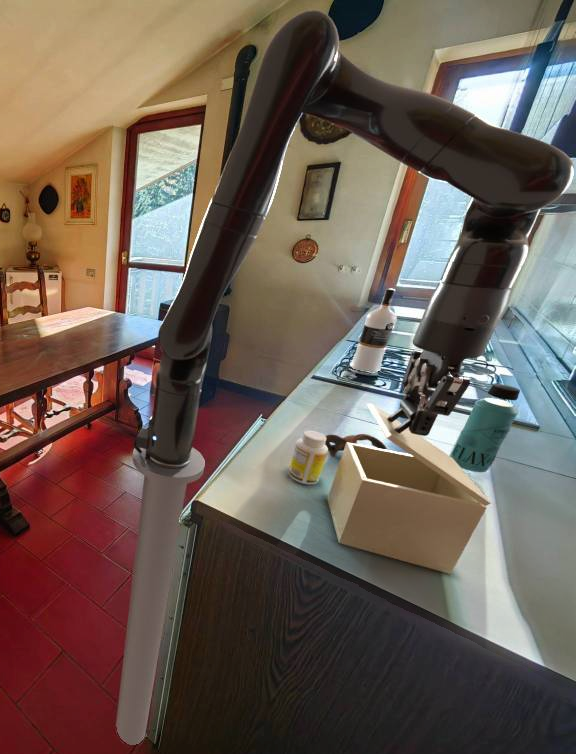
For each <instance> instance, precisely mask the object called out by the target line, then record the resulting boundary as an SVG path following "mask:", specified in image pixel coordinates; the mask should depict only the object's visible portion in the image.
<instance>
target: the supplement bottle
mask: <svg viewBox="0 0 576 754" xmlns="http://www.w3.org/2000/svg"><path fill="white" fill-rule="evenodd" d="M325 436H326V435H325V434H323V433H322V432H321V433H320V432H319V431H314V430H305V431H303V434H302V436H301V438H298V439H297V440H296V442H295V446H294V450H293V453H292V457H291V461H290V464H289V468H288V475H289V477H290V478H291V479H292V480H294V481H296V482H298V483H300V484H303V485H316V484H317V483H318V482H319V480H320V477H321V475H322V471H323V468H324V464H325V461H326V459H327V454H328V452H329V451H328V448H327V446H326V445H325V442H326V437H325Z"/></svg>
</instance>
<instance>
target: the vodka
mask: <svg viewBox="0 0 576 754" xmlns="http://www.w3.org/2000/svg"><path fill="white" fill-rule="evenodd" d="M395 293H396V289H394V288H386V289H385V291H384V294H383V297H382V300H381V303H380V306H379V308H376V309H374V310H372V311H369V312H368V313H367V315H366V316H365V322H364V323H363V324H364V325H363V329H362V332H361V335H360V338H359V341H358V343H357V347H356V350H355V353H354V355H353V357H352V360H351V362H350V363H349V365H350V366H351V367H352V368H353V369H356V370H363V371H370V372H378V371H380V370H382V362H383V359H384V356H385V352H386V351H387V350H388V349H387V347H388V345H389V341H390V338H391V335H392V333H393V330H394V328H395V325H396V323H397V320H398V316H397V314H396V313H395V312H394V311H392V310H391V305H392V301H393V299H394V296H395ZM348 370H349V371H350V372H352V373H353V374H357V375H361V376H367V377H375V376H378V375H379V374H365V373H361V372H357V371H354V370H352V369H350V368H349V367H348ZM380 372H381V371H380Z"/></svg>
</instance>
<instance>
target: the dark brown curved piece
mask: <svg viewBox="0 0 576 754" xmlns="http://www.w3.org/2000/svg"><path fill="white" fill-rule="evenodd" d="M324 436H325V437H326V442H325V445H326V446H327V448H328V452H329V455H330V456H331V457H332V458H335V457H336V454H337V453H338V452H343V451H344V448H345V445H346V442H349V443H354V444H358V441H369V442H370V444H371V446H372V447H375V448H380V449H385V450H388V448H387V446H386V445H385V444H384V443H383V442H382V441H381V440H380V439H378V438H377V437H375V436H372V435H370V434H366V433H359V434H351V435H347V436H344V437H342V436H339V435H337V434H327V435H324ZM331 443H332V444H331Z"/></svg>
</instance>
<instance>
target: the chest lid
mask: <svg viewBox="0 0 576 754" xmlns="http://www.w3.org/2000/svg"><path fill="white" fill-rule="evenodd" d="M366 407H367V408H368V410H369V412H370V414H371V415H372V417H373V418H374V421H376V423H377V424H378V426H379V428H380V430H381V431H382V433H383V434H384V436H385V438H386V439H387V440H389V441H390V442H392V443H393V444H394V445H395V446H398V447H399V448H401V449H402V450H403V451H404V452H405V453H406V454H410V455H412V456H413V457H415V458H416V459H418V460H419V461H420V462H422V463H423V464H425V465H426V466H428V467H429V468H431V469H432V470H433V471H435V472H436V473H438V474H439V475H441V476H442V477H444V478H445V479H446V480H448V481H449V482H451V483H452V484H454V485H455V486H457V487H458V488H460V489H461V490H462V491H464V492H465V493H467V494H468V495H470V496H471V497H473V498H474V499H475V500H477V501H478V502H480V503H481V504H483V505H484V506H486V507H488V505H490V504H491V502H490V500H489V499H488V498H487V497H486V496H485V494H484V493H483V491H481V489H480V488H479V487H478V486H477V485H476V484H475V483H474V481H473V480H472V479H471V478H470V476H469V475H468V474H467V473H466V472H465V471H464V470H463V468H461V467H460V466H459V465H458V464H457V463H456V462H455V460H454V459H453V458H452V457H450V456H449V455H450V454H448V453H446V452H444V450H442V449H440V448H439V447H437V446H436V445H435V444H433V443H431V442H430V441H428V440H427V439H425V438H424V437H423V436H422V435H417V434H412V433H411V432H410V431H409V427H410V425H411V422H412V420H413V418H414V416H415V413H416V411H417V409H418V405H417V403H416V402H415V401H413V400H411V399H406V400H403V399H402V401H400V403H399V408H400V409H399V408H398V410H396V411H394V413H392V414H391V415H390V414H389V413H388V412H385V411H384V410H383V409H381V408H380V407H378V406H377V405H375V404H374V403H373V402H368V403H367V404H366ZM404 413H405V414H406V415H407V417H408V418H409V419H406V420H405V421H403V422H401V421H399V420H397V419H399V418H400V416H401V415H403V414H404Z"/></svg>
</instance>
